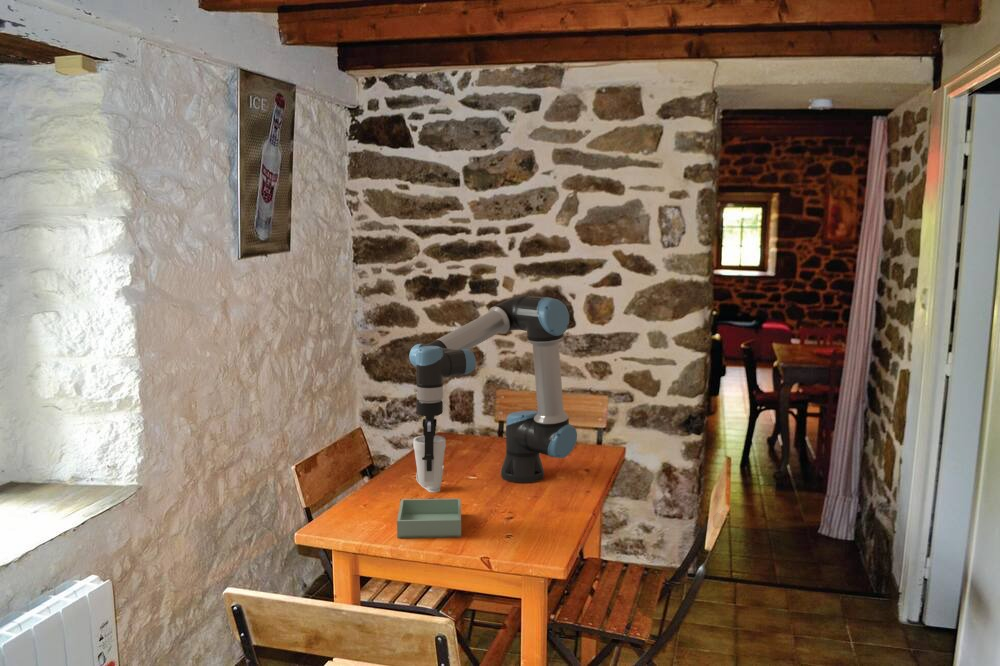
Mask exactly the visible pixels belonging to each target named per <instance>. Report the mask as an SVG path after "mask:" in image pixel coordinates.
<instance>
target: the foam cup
mask: <svg viewBox="0 0 1000 666" xmlns="http://www.w3.org/2000/svg"><path fill="white" fill-rule="evenodd" d="M446 439H447V438H446V437H444V436H442V435H436V434H435V436H434V455H433V456H434V482H425V481H424V460H422V457H424V456H425V436H424V435H423V434H422V435H419V436H415V437H413V440H412V441H413V442H412V443H413V445H412V446H413V450H414V457H415V463H416V464H415V465H416V474H417V473H418V480H419V483H418V485H420V486H421V485H423V486H425V487H427V486H436V485H439V484H440V481H441V476H442V468H443V466H444V459H445V451H446V448H447V447H446V445H447V440H446ZM442 477H443V476H442Z"/></svg>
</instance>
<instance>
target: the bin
mask: <svg viewBox="0 0 1000 666" xmlns="http://www.w3.org/2000/svg"><path fill="white" fill-rule="evenodd" d="M396 519H397V520H396V538H397V539H419V538H421V539H425V538H426V539H427V538H428V539H431V538H440V539H441V538H462V502H461V498H404V499H403V498H401V499H400V503H399V508H398V515H397V518H396Z"/></svg>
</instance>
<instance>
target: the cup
mask: <svg viewBox="0 0 1000 666" xmlns="http://www.w3.org/2000/svg"><path fill="white" fill-rule="evenodd" d="M444 468H445V466H444V465H443V468H442V476H441V481H440V484H439V485H436V486H423V485H420V486H421V487H422V488H423V489H425V491H427V492H429V493H439V492H440V491H441V486H442V483H443V474H444ZM415 478H416V482H417V483H418V484H419V480H418V473H417V472H416V473H415Z"/></svg>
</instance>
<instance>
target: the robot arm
mask: <svg viewBox="0 0 1000 666" xmlns="http://www.w3.org/2000/svg"><path fill="white" fill-rule="evenodd" d="M569 325H570V313H569V311H568V307H567V305H566V304H565V303H564V302H562V301H561V300H560V299H557V298H552V297H549V296H547V297H546V296H534V295H518V296H514V297H512V298H508V299H506V300H504V301H502V302H500V303H497V304H496V305H494V306H492V307H490V308H489V310H488V312H487V313H485V314H483V315H481V316H479V317H477V318H475V319H474V320H472V321H469V322H467V323H466V324H464V325H462V326H460V327H458V328H456V329H454V330H452V331H451V332H449V333H447V334H444V335H443V336H440V337H439V338H437V339H435V340H433V341H431V342H430V343H417V344H415V345H414V346H412V347H411V349H410V352H409V355H408V357H409V358H408V359H409V362H410V364H411V365H412V367H414V368H415V370H416V371H415V372H416V373H415V374H416V376H415V377H416V378H415V379H416V388H415V389H414V392H415V393H416V399H417V401H416V414H417V415H418V416H421V417H425V418H422V428H423V434H422V436H423V435H424V436H425V456H424V457H422V460H424V481H425V482H434V456H433V455H434V436H435V435H436V432H437V431H436V430H437V421H438V420H437V418H435V417H436V416H439V415H442V414H443V411H444V409H443V408H444V404H443V403H444V402H443V398H444V385H443V384H444V379H445V378H451V377H457V376H465V375H468V374H471V373H472V372H474V371H475V369H476V367H477V366H476V365H477V362H476V361H477V358H476V356H475V354H474V352H473V351H472V350H471V349H472V348H474V347H476V346H477V345H479V344H481V343H483V342H485V341H487V340H489V339H490V338H492V337H494V336H496V335H498V334H502V335H504V334H507V333H508V332H511V331H525V332H526V336H527V341H528V342H529V343H530V344H531V345H532V352H533V354H532V355H533V367H534V377H535V378H534V381H535V391H536V392H535V394H536V404H537V410H519V411H515V412H511V413H509V414H508V415H507V417H506V424H505V444H506V445H505V452H506V453H505V458H504V460H503V464H502V466H501V469H500V477H501V479H503V480H504V481H507V482H512V483H517V484H519V483H520V484H528V483H529V484H530V483H535V482H539V481H541V480H543V479H544V477H545V469H544V467H543V463H542V458H541V456H540V454H541V455H545V456H548V457H550V458H558V459H563V458H566V457H568V456H569V455H570V454H571V453H572V452H573V449H574V448H575V446H576V444H577V440H578V432H577V428H576V427H574V426H573V425H572V424H570V422H569V421H570V420H569V414H568V413H567V412H565V411H564V401H563V388H562V387H563V386H562V371H561V370H562V369H561V356H560V342H561V340H563V338H564V334H565V333H566V331H567V330H568V326H569Z"/></svg>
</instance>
